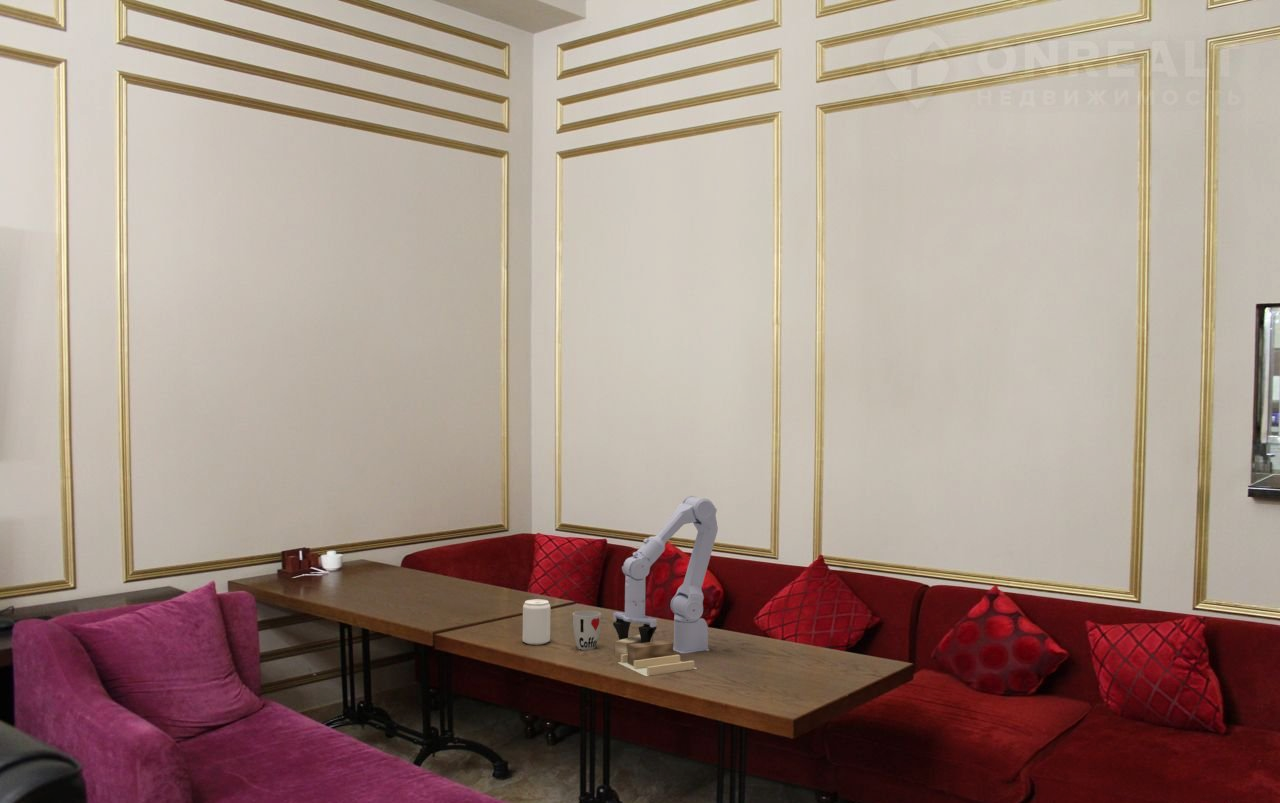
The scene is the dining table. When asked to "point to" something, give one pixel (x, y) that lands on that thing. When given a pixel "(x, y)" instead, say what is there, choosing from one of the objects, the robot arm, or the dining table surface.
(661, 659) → the slot board
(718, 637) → the dining table surface
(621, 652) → the beige wooden block
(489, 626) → the dining table surface
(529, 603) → the beverage can
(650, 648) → the brown wooden block
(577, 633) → the cup
